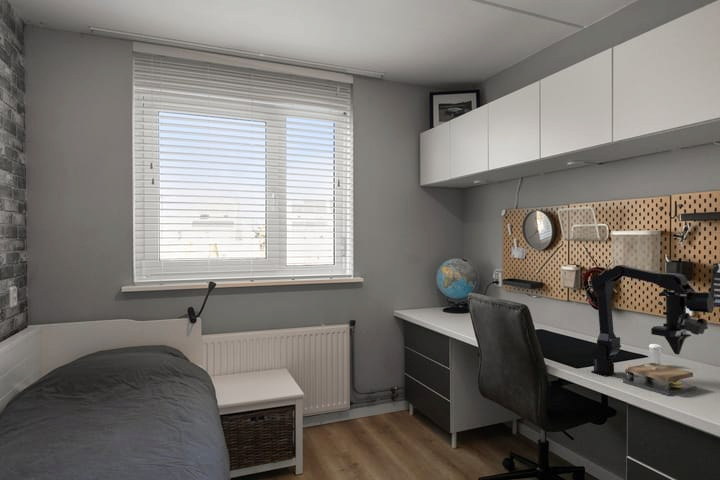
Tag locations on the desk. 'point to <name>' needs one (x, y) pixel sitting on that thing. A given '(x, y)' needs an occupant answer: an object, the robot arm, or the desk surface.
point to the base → (658, 384)
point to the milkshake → (655, 353)
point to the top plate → (660, 372)
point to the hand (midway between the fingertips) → (676, 354)
